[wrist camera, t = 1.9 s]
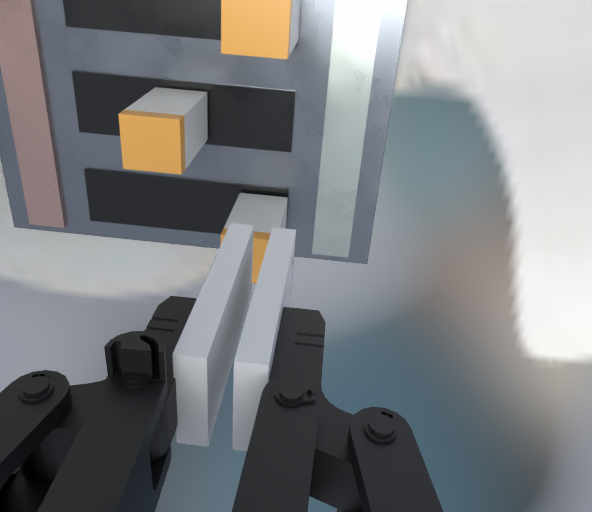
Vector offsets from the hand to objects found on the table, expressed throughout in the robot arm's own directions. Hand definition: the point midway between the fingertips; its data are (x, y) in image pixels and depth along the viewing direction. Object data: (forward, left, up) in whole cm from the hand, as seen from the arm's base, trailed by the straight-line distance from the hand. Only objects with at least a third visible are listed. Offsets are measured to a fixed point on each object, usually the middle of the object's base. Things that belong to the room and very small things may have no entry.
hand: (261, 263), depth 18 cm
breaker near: (-2, +6, -16) cm, 17 cm away
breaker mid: (-7, 0, -16) cm, 18 cm away
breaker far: (-2, -6, -16) cm, 17 cm away
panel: (-7, 0, -18) cm, 20 cm away
